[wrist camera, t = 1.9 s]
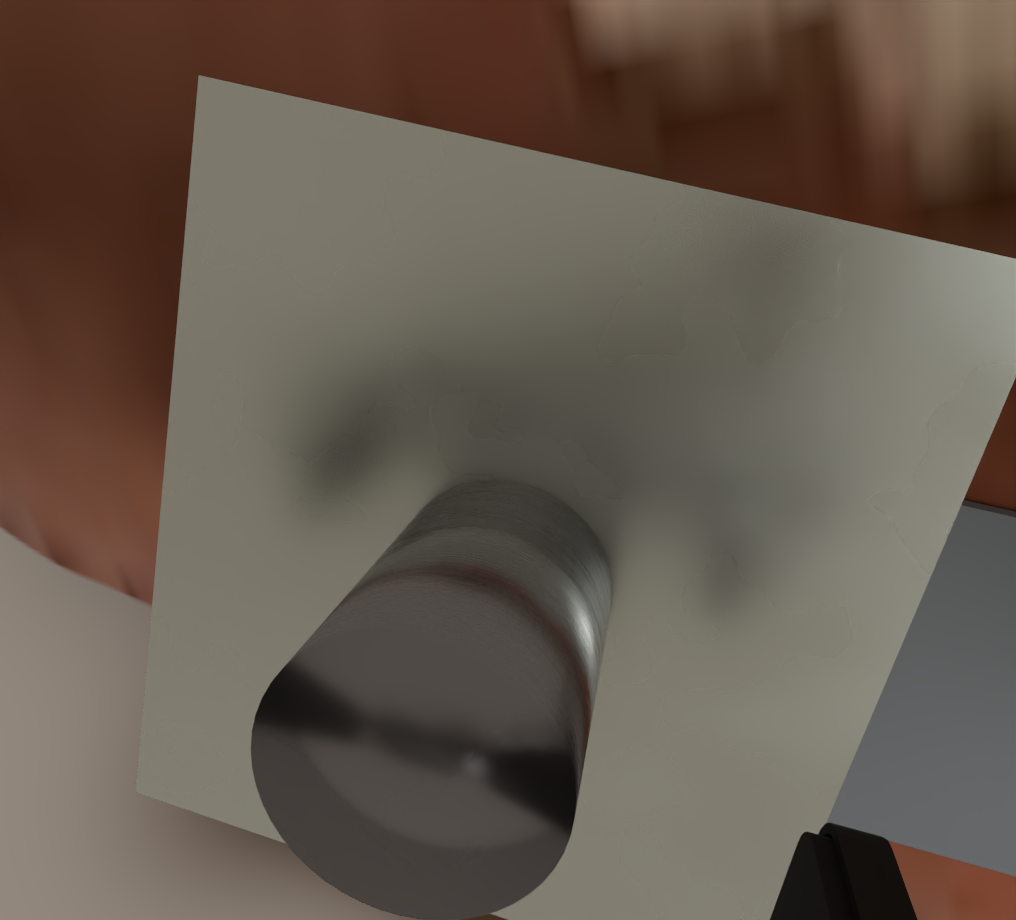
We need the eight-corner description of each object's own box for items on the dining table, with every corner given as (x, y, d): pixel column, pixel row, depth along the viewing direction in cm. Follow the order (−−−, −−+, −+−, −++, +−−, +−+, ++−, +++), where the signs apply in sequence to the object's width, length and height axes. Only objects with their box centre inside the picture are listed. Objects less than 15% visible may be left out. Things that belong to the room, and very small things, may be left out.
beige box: (825, 235, 28) (1360, 312, 6) (712, 579, 32) (782, 1365, 10) (480, 156, 29) (-104, -13, 7) (414, 496, 34) (-84, 1024, 12)
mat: (1188, 550, 28) (1202, 560, 28) (1034, 868, 33) (1042, 884, 32) (777, 457, 30) (779, 463, 30) (683, 770, 35) (683, 782, 34)
